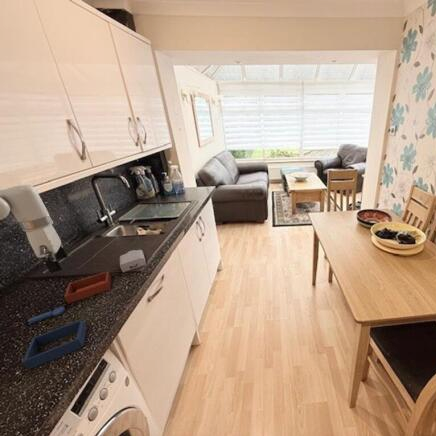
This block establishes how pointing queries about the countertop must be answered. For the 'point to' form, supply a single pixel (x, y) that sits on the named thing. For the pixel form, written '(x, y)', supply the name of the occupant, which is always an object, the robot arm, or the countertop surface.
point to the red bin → (72, 296)
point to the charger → (132, 260)
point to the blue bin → (36, 360)
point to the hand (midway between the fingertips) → (59, 264)
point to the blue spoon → (47, 314)
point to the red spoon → (90, 286)
